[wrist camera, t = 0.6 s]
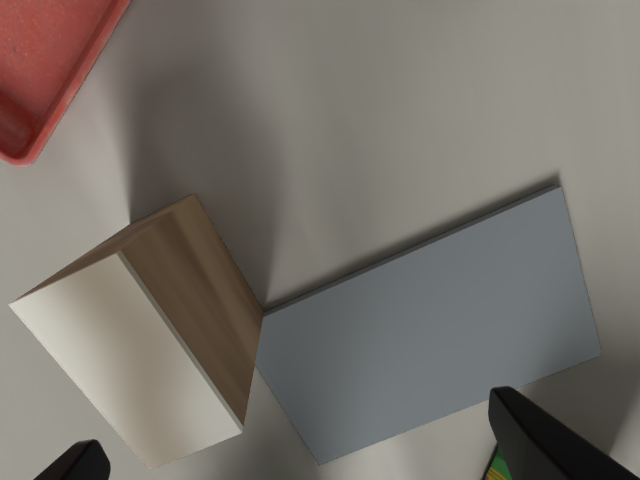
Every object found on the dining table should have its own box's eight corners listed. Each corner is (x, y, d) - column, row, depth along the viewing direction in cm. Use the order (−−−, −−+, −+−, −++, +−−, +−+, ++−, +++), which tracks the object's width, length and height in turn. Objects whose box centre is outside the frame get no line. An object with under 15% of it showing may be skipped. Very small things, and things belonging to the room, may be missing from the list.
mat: (318, 458, 26) (318, 465, 26) (234, 325, 23) (232, 330, 22) (595, 349, 25) (602, 354, 24) (554, 184, 21) (561, 186, 20)
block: (205, 337, 23) (149, 470, 14) (130, 224, 20) (8, 304, 12) (264, 311, 23) (242, 432, 14) (194, 193, 20) (116, 253, 12)
